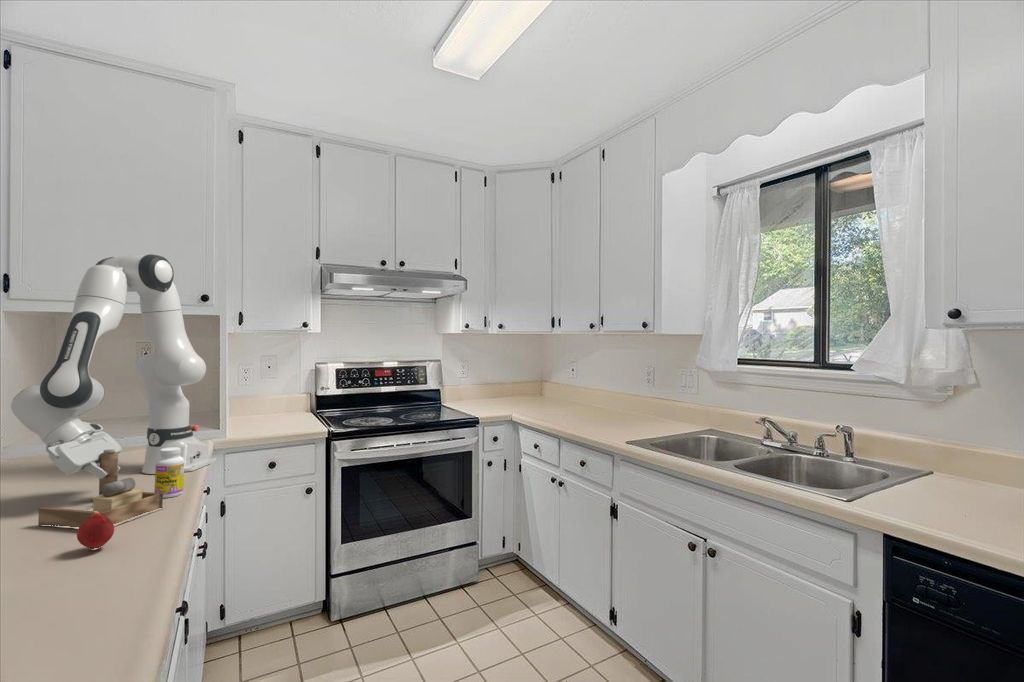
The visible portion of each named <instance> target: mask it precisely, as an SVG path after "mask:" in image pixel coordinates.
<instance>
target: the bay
mask: <svg viewBox="0 0 1024 682" xmlns="http://www.w3.org/2000/svg"><path fill="white" fill-rule="evenodd" d="M102 495H103V494H102ZM163 500H164V498H163V493H154V492H148V491H144V492H142V499H140V500H137V501H134V502H131V503H129V504H126V505H123V506H120V507H117V508H114V509H111V510H108V511H105V512H99V513H100V514H102V515H104V516H106V517H108V518H109V519H110V520H111V521H112V522H113V524H116V523H119V522H122V521H124V520H127V519H130V518H132V517H135V516H138V515H141V514H143V513H146V512H150V511H153V510H156V509H159V508H162V509H163V502H164V501H163ZM84 510H85V509H82V510H81V509H71V508H69V509H68V508H61V507H59V508H58V507H49V506H48V507H44V506H43V507H39V508H38V524H37V526H38V525H51V526H52V525H53V526H55V525H56V526H58V525H59V526H70V527H80V526H81V525H82V523H83V522H84V521H85V520H86V519H88V518H89V517H91V516H92V512H93V511H84Z"/></svg>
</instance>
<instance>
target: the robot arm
mask: <svg viewBox="0 0 1024 682" xmlns="http://www.w3.org/2000/svg"><path fill="white" fill-rule="evenodd" d="M174 273H175V272H174V267H173V266H172V264H171V263H170V262H169V260H168V259H167V258H166V257H164V256H162V255H158V254H128V255H121V256H116V257H114V256H111V257H107V258H106V257H105V258H103V259H101V260H99V261H97V262H96V263H95V265H93V266H91V267H89V268H88V269H87V270H86V271H85V273H84V275H83V277H82V280H80V281H81V282H80V284H79V287H78V290H77V292H76V296H75V299H74V304H73V308H72V314H71V317H70V318H71V319H70V322H69V325H68V328H67V330H66V333H65V336H64V339H63V343H62V345H61V348H60V351H59V354H58V357H57V359H56V361H55V364H54V366H53V367H52V368H51V370H50V371H49V372H48V373H47V374H46V375H45V376H44V377H43V379H42V381H41V383H40V385H31V386H28V387H26V388H25V389H22V390H21V391H20V392H19V393H17V394H16V395H15V397H14V398H13V399H12V401H11V403H10V410H11V412H12V414H13V415H14V416H15V417H16V419H18V421H19V422H20V423H21V424H22V425H24V427H26V428H27V429H28V430H29V431H31V432H33V433H34V434H37V435H38V437H39V439H40V440H41V441H42V442H43V444H45V445H46V447H45V451H46V452H47V453H48V457H49V459H50V460H51V461H52V463H53V464H54V465H55V466H56V467H57V469H59V470H60V471H61V472H62V473H64V474H66V475H73V474H75V473H78V472H81V471H83V470H85V471H86V472H87V473H89V474H91V475H94V476H97V477H98V479H99V478H100V479H102V478H104V477H106V476H107V475H108V474H109V472H108V471H107V470H106V469H101V468H100V466H98V465H100V454H101V453H104V450H111V449H114V450H115V452H118V455H119V454H120V453H122V451H123V449H122V446H121V445H120V444H119V443H118V441H116V440H115V438H113V437H112V435H110V434H108V433H107V432H106V431H103V430H104V427H103V425H101V424H99V423H98V424H97V423H92V422H91V423H90V422H87V421H82V420H81V419H80V418H79V416H81V415H83V414H86V413H87V412H89V411H91V410H92V409H94V408H96V407H98V406H99V405H100V404H101V403H102V401H103V400H104V398H105V395H106V394H105V387H104V386H103V384H102V383H101V382H100V381H99V380H97V379H95V378H94V377H92V376H91V375H90V372H89V367H90V362H91V361H92V360H91V359H92V356H93V353H94V350H95V347H96V344H97V341H98V339H99V338H100V337H101V336H102V335H104V334H107V333H111V332H113V331H114V330H117V328H118V327H119V325H120V322H121V321H122V318H123V316H124V311H125V308H126V303H127V296H128V295H127V294H128V293H133V292H135V293H137V294H138V296H139V307H140V315H141V320H142V327H143V333H144V336H145V338H146V340H148V341H149V342H150V343H151V344H152V346H153V347H154V350H155V351H154V352H149V353H146V354H144V355H141V357H139V359H138V360H137V361H136V363H135V367H134V369H135V374H136V376H137V377H138V378H139V379H140V380H141V381H142V384H143V386H144V389H145V393H146V396H147V400H148V427H147V430H146V431H147V432H146V439H147V441H148V442H147V444H146V449H145V455H144V460H143V461H144V462H143V464H142V465H141V466H142V467H141V473H143V474H149V475H155V465H156V461H157V460H158V459H159V458H161V454H160V450H161V449H163V448H170V447H179V448H181V452H180V454H179V456H180V457H182V458H183V459H184V473H185V472H186V473H187V472H194V471H197V470H199V469H201V468H203V467H206V466H208V465H210V464H212V463H215V462H217V458H216V457H212V456H209V455H210V454H209V447H208V444H206V443H204V442H203V441H202V440H200V439H199V438H198V437H195V435H194V433H193V432H198V431H199V430H200V428H199V425H194V424H192V425H190V406H191V405H190V401H189V400H188V398H187V397H185V395H184V393H183V389H182V387H183V386H189V385H193V384H197V383H199V382H200V381H201V380H203V379H204V378H205V376H206V373H207V365H206V363H205V360H204V359H203V358H202V357H201V356H199V354H198V353H197V352H196V350H195V349H194V347H193V345H192V343H191V341H190V339H189V337H188V334H187V332H186V327H185V322H184V315H183V309H182V305H181V304H182V303H181V300H180V296H179V292H178V290H177V286H176V284H175V283H174ZM120 470H121V467H120V466H119V465H118V472H119V471H120Z"/></svg>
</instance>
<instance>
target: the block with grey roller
mask: <svg viewBox="0 0 1024 682" xmlns="http://www.w3.org/2000/svg"><path fill="white" fill-rule="evenodd" d="M135 487H136V481H135V479H134V478H133V477H127V478H124V479H123V478H122V479H120V480H117V481H116V482H112V483H108V484H105V485H103V487H102V489H101V491H102V494H103V495H99V494H98V495H95V496H93V497H91V501H93V503H92V507H93V511H97V512H105V511H108V510H111V509H114V508H117V507H120V506H123V505H126V504H129V503H131V502H134V501H137V500H140V499H142V492H145V491H144V490H145V489H144V488H135Z"/></svg>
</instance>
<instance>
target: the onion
mask: <svg viewBox="0 0 1024 682" xmlns="http://www.w3.org/2000/svg"><path fill="white" fill-rule="evenodd" d="M114 533H115V527H114V525H113V522H112V521H111V520H110V519H109V518H108V517H106V516H104V515H102V514H100V513H99V512H97V511H93V512H92V516H91V517H89V518H88V519H86V520H85V521H84V522H83V523H82V525H81V526H80V527H79V529H78V530H77V532H76V538H77V541H78V543H79V544H80V545H82V546H83V547H85V548H87V549H89V548H90V549H94V548H99V547H100V548H102V547H104V546H105V545H106V544H107V543H108V542H109V541H110V540H111V539H112V537H114V536H113V535H114ZM101 546H102V547H101ZM100 548H99V549H100ZM90 549H89V550H90Z"/></svg>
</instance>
